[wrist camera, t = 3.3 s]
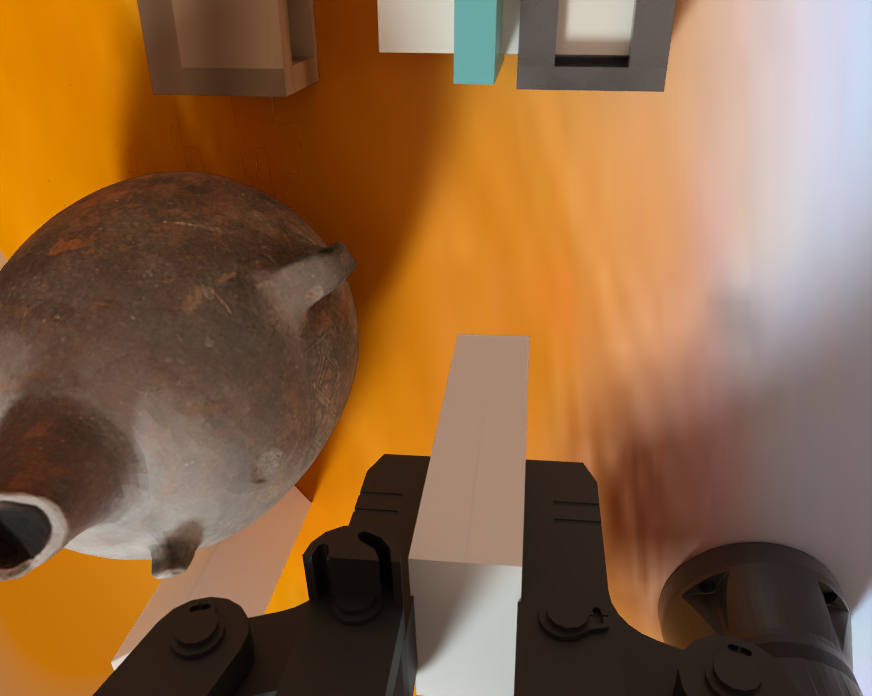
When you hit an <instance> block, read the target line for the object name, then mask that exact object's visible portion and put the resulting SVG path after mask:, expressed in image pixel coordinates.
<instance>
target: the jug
mask: <svg viewBox="0 0 872 696" xmlns="http://www.w3.org/2000/svg"><path fill="white" fill-rule="evenodd" d="M355 269H356V262H355V260H354V258H353V257H352V255H351V253H350V252H349V250H348V248H347V247H346V245H345V244H344V243H342V242H336V243H334V244H332V245H329V246H327V245H326V244H325V243H324V241H323V240H322V239H321V238H320V236H319V235H318V234H317V233H316V232H315V231H314V230H313V229H312V228H311V227H310V226H309V225H308V224H307V223H306V222H305V221H304V220H303V219H302V218H301V217H300V216H299V215H298V214H296V213H295V212H294V211H293V210H292V209H290V208H289V207H287V206H286V205H284V204H283V203H281V202H280V201H278V200H277V199H275V198H274V197H272V196H270V195H268V194H266V193H264V192H262V191H260V190H258V189H255V188H253V187H250V186H248V185H245V184H243V183H241V182H238V181H235V180H233V179H230V178H226V177H223V176H219V175H214V174H207V173H199V172H189V171H174V172H161V173H154V174H148V175H143V176H139V177H135V178H131V179H127V180H124V181H121V182H118V183H115V184H112V185H110V186H107V187H105V188H102V189H100V190H98V191H96V192H94V193H92V194H90V195H88V196H86V197H84V198H82V199H80V200H79V201H77V202H75V203H74V204H72V205H70V206H69V207H67V208H65V209H64V210H62V211H61V212H59V213H58V214H56V215H55V216H54V217H52V218H51V219H50V220H48V221H47V222H46V223H45V224H44V225H43V226H42V227H40V228H39V229H38V230H37V231H36V232H35V233H34V234H32V235H31V236H30V237H29V238H28V239H27V240H26V241H25V242H24V243H23V244H22V245H21V246H20V247H19V249H18V250H17V251H16V252H15V253H14V255H13V256H12V257H11V258H10V259H9V261H8V262H7V263H6V264H5V265H4V267H3V268H2V269H1V271H0V581H4V580H10V579H16V578H21V577H22V576H24V575H25V574H27V573H28V572H30V571H31V570H33V569H34V568H36V567H37V566H39V565H40V564H42V563H44V562H46V561H47V560H49V559H50V558H51V557H52V556H54V555H55V554H56V553H57V552H58V551H60V550H61V549H62V548H67V549H70V550H74V551H78V552H80V553H84V554H89V555H94V556H99V557H105V558H112V559H127V560H143V559H144V560H145V559H152V575H153V576H154V577H155V578H157V579H163V578H171V577H175V576H177V575H180V574H182V573H184V572H185V571H186V570H187V569H188V567H189V566H190V564H191V562H192V560H193V558H194V555H195V551H196V550H199V549H202V548H204V547H207V546H210V545H213V544H215V543H217V542H219V541H221V540H223V539H225V538H227V537H229V536H231V535H233V534H235V533H237V532H239V531H241V530H242V529H244V528H245V527H247V526H249V525H250V524H252V523H253V522H255V521H256V520H257V519H259V518H260V517H261V516H262V515H264V514H265V513H266V512H267V511H268V510H269V509H271V508H272V507H273V506H274V505H275V504H276V503H277V502H278V501H279V500H280V499H281V498H282V497H283V496H284V495H285V494H286V493H287V492H288V491H289V490H290V489H291V488H292V487H293V486H294V485H295V484H296V483H297V482H298V480H299V479H300V478H301V477H302V476H303V475H304V473H305V472H306V471H307V470H308V469H309V467H310V466H311V465H312V464H313V462H314V461H315V459H316V458H317V456H318V455H319V453H320V452H321V450H322V448H323V447H324V445H325V444H326V442H327V440H328V439H329V437H330V435H331V433H332V432H333V430H334V428H335V426H336V424H337V422H338V420H339V418H340V416H341V414H342V412H343V410H344V407H345V405H346V402H347V400H348V397H349V395H350V391H351V388H352V384H353V380H354V377H355V372H356V366H357V360H358V349H359V335H358V317H357V311H356V306H355V302H354V299H353V295H352V292H351V288H350V286H349V283H348V281H347V279H346V278H347V277H348V276H349V275H350V274H351V273H352V272H353V271H354V270H355Z"/></svg>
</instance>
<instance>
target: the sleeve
mask: <svg viewBox="0 0 872 696" xmlns="http://www.w3.org/2000/svg"><path fill="white" fill-rule="evenodd" d="M558 5H559V0H521V3H520V25H519V46H518V67H517V89H539V90H597V91H655V92H664V86H665V78H666V71H667V64H668V56H669V49H670V42H671V34H672V27H673V20H674V12H675V5H676V0H635V1H634V10H633V19H632V27H631V36H630V45H629V54H628V55H560V54H555V48H556V34H557V19H558Z"/></svg>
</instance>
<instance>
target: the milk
mask: <svg viewBox="0 0 872 696" xmlns="http://www.w3.org/2000/svg"><path fill="white" fill-rule="evenodd" d="M310 506H311V502H310V501H309V500H308V499H307V498H306V497H305V496H304V495H303V494H302V493H301V492H300V491H299V490H298V489H297V488H296V487H295V486H293V487H292V488H291V489H290V490H289V491H288V492H287V493H286V494H285V495H284V496H283V497H282V498H281V499H280V500H279V501H278V502H277V503H276V504H275V505H274V506H273V507H272V508H271V509H269V510H268V511H267V512H266V513H265V514H264V515H262V516H261V517H260V518H259V519H257V520H256V521H255V522H253V523H252V524H250V525H249V526H247V527H245V528H244V529H242V530H241V531H239V532H237V533H235V534H233V535H231V536H229V537H227V538H225V539H223V540H221V541H219V542H217V543H215V544H213V545H210V546H207V547H204V548H202V549H199V550H196V551H195V555H194V558H193V560H192V562H191V564H190V566H189V567H188V569H187V570H186V571H185V572H184V573H182V574H180V575H177V576H175V577H171V578H163V579H162V581H161V583H160V584H159V586H158V588H157V589H156V591H155V593H154V594H153V596H152V597H151V599H150V600H149V602H148V604H147V605H146V607H145V609H144V610H143V612H142V613H141V615H140V617H139V618H138V620H137V621H136V623H135V625H134V626H133V628H132V629H131V631H130V633H129V634H128V636H127V637H126V639H125V641H124V642H123V644H122V645H121V647H120V649H119V650H118V652H117V653H116V655H115V657H114V658H113V660H112V666H113V668H114V671H115V670H116V668H117V667H118V666H119V665H120V664H121V663H122V662H123V661H124V659H125V658H126V657H127V656H128V655H129V654H130V653H131V652H132V650H133V649H134V648H135V647H136V646H137V645H138V644H139V643H140V641H141V640H142V639H143V638H144V637H145V636H146V635H147V633H148V632H149V631H150V630H151V629H152V628H153V627H154V626H155V624H156V623H157V622H158V621H159V620H161V619H162V618H163V617H164V616H165V615H166V614H168V613H169V612H170V611H171V610H172V609H174V608H176V607H178V606H180V605H182V604H184V603H187V602H189V601H191V600H195V599H201V598H206V597H218V598H227V599H229V600H231V601H233V602H235V603H237V604H238V605H240V606H241V607H242V608H243V610H244V612H245V613H246V615H247V617H248V618H249V617H255V616H260V615H264V613H265V611H266V608H267V606H268V604H269V601H270V599H271V597H272V595H273V592H274V590H275V588H276V585H277V583H278V581H279V578H280V576H281V574H282V571H283V569H284V567H285V564H286V562H287V560H288V557H289V555H290V553H291V550H292V548H293V546H294V544H295V541H296V539H297V537H298V534H299V532H300V530H301V527H302V525H303V523H304V520H305V518H306V516H307V513H308V511H309V509H310Z"/></svg>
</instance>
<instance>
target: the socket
mask: <svg viewBox="0 0 872 696" xmlns="http://www.w3.org/2000/svg"><path fill="white" fill-rule="evenodd" d="M137 2H138V8H139V14H140V20H141V25H142V31H143V37H144V43H145V49H146V54H147V60H148V66H149V72H150V78H151V83H152V89H153V94H158V95H210V96H262V97H287V96H289V95H291V94H293V93H295V92H297V91H299V90H301V89H303V88H305V87H307V86H309V85H311V84H313V83H315V82H317V81H319V67H318V53H317V39H316V25H315V11H314V0H137Z"/></svg>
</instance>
